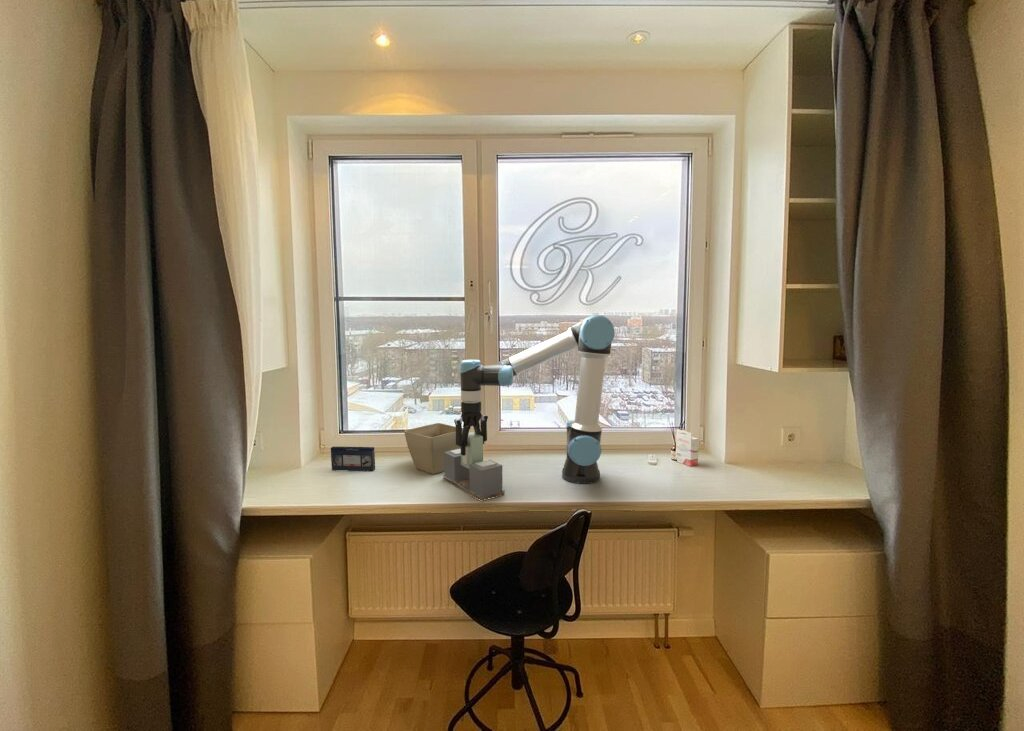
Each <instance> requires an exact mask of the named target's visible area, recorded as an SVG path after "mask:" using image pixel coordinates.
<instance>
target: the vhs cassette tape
mask: <svg viewBox="0 0 1024 731" xmlns="http://www.w3.org/2000/svg"><path fill="white" fill-rule="evenodd" d="M375 453H376V452H375V446H331V447H330V459H331V460H330V462H331V471H336V470H348V471H347V472H374V471H375V470H376V458H375V457H376V456H375Z"/></svg>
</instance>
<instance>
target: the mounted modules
mask: <svg viewBox="0 0 1024 731" xmlns="http://www.w3.org/2000/svg"><path fill="white" fill-rule="evenodd" d="M444 462H445V471H444V475H445V476H447V477H449V478H451V479H452V480H454V481H457V482H458V481H462V480H466V479H470V490H472V491H473V492H475V493H477V494H479V495H480V496H484V497H487V496H490V495H494V494H497V493H501V491H502V490H504V489H503V486H504V485H503V483H504V482H503V465H502V464H501V463H498V462H496V461H494V460H492V459H487V460H483V461H482V462H478V463H474V464H469V469H468V468H466V467H464V466H462V465H461V449H456V450H451V451H448V452H444Z"/></svg>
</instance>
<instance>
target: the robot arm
mask: <svg viewBox="0 0 1024 731" xmlns="http://www.w3.org/2000/svg"><path fill="white" fill-rule="evenodd" d="M615 333H616V332H615V326H614V324H613V323H612V321H611V320H610V319H609V318H608V317H606V316H604V315H602V314H601V315H600V314H592V315H588V316H586V317H585V318H583V319H582V320H581V321H579V322H577V323H575V324H574V325H572V326H570V327H568V329H567V331H565V332H563V333H560V334H558V335H556V336H554V337H552V338H549V339H547V340H545V341H542V342H540V343H539V344H535V345H534V346H532V347H529V348H527V349H525V350H523V351H521V352H520V351H519V353H517V354H514V355H512V356H510V357H507V358H505V359H503V360H500V361H497V362H496V363H495V364H492V365H483V364H482V363H481V360H480V359H464V360H462V361H461V362H460V372H459V374H460V400H461V403H460V412H461V414H460V417H459V418H458V419H456V418H455V419H454V421H453V422H454V424H455V427H456V445H458V446H460V447H461V455H463V463H465V464H468V447H467V446H466V444H467V439H468V434H469V432H470V430H471V428H472V427H473V431H474V433H475V434H477V435H481V436H483V445H485V442H487V441H488V427H487V424H488V423H487V422H488V418H489V417H488V415H486V414H482V412H481V411H482V402H481V401H482V386H484V387H485V386H486V387H487V386H489V387H490V386H492V387H493V386H494V387H495V386H496V387H498V386H499V387H506V386H507V387H508V386H512V385H513V384H514V377H515V376H517V375H520V374H522V373H524V372H526V371H529V370H530V369H533V368H536V367H538V366H540V365H542V364H545V363H547V362H549V361H552V360H554V359H556V358H558V357H561V356H563V355H564V354H567V353H569V352H572V351H574V350H577V353H579V355H580V356H581V358H580V368H579V376H578V384H577V385H578V387H577V395H576V407H575V414H574V419H572V420H568V421H567V422H566V427H565V429H566V458H565V462H564V464H563V468H562V470H561V477H562V479H563V480H565V481H567V480H568V482H570V481H572V482H571V483H574V482H579V483H578V484H592V483H591V482H593V483H596V482H598V481H599V480H601V471H600V469H599V464H598V462H597V461H599V459H600V458H601V454H602V445H601V442H602V433H603V432H602V431H603V428H602V427H601V425H600V424H599V418H600V411H601V410H600V409H601V402H602V392H603V384H604V374H605V367H606V359H607V358H608V357H609V356H611V353H612V351H611V350H612V343H613V341H614V338H615ZM462 428H463V432H462Z"/></svg>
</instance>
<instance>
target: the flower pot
mask: <svg viewBox="0 0 1024 731" xmlns="http://www.w3.org/2000/svg"><path fill="white" fill-rule="evenodd" d="M403 432H404V437H405V441H406V444H407V449H408V452H409V454H410V457H411V459H412V461H413V464H414V466H415V468H416V469H418V470H421V471H424V472H426V473H428V474H432V475H435V474H440V473H442V472H445V462H444V452H448V451H451V450H456V449H461V447H460V446H458V445H456V425H455V426H454V425H450V424H446V423H441V422H436V423H432V424H426V425H422V426H417V427H414V428H409V429H404V431H403ZM462 432H463V427H462Z"/></svg>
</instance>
